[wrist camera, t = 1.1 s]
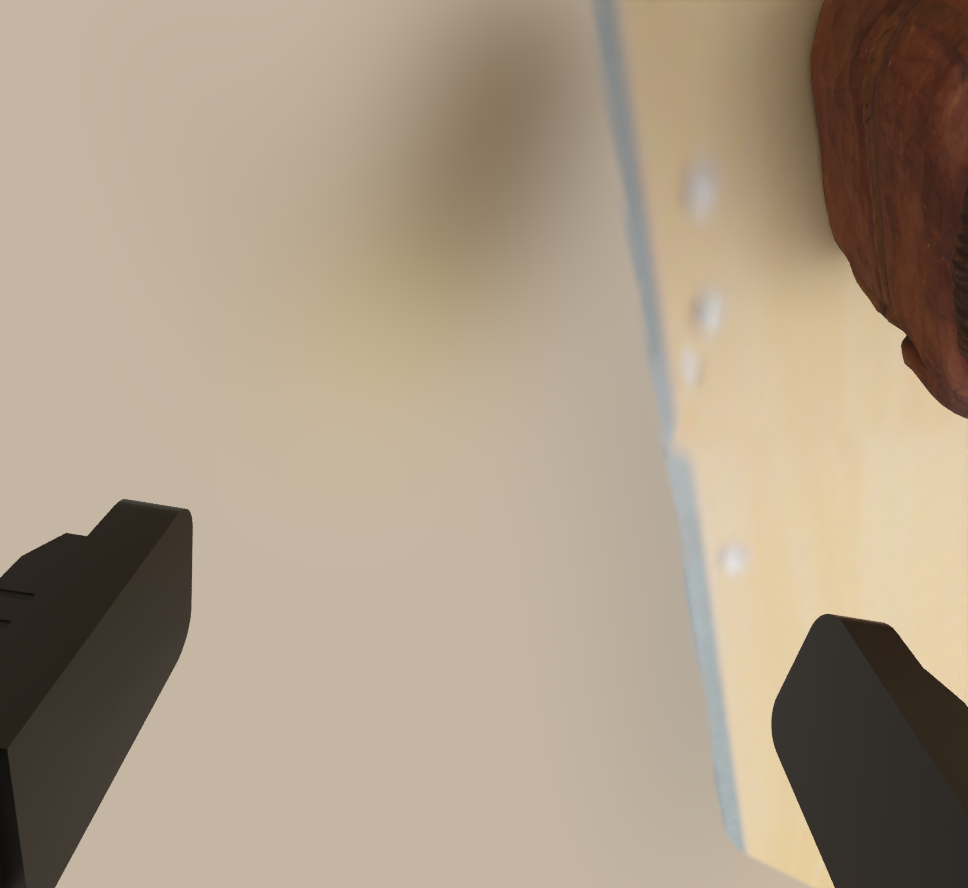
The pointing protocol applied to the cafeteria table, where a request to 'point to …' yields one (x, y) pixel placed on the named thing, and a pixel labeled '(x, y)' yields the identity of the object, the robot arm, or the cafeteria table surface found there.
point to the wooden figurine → (901, 170)
